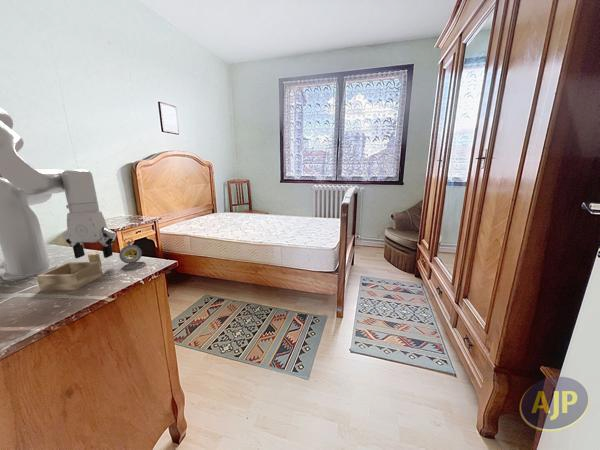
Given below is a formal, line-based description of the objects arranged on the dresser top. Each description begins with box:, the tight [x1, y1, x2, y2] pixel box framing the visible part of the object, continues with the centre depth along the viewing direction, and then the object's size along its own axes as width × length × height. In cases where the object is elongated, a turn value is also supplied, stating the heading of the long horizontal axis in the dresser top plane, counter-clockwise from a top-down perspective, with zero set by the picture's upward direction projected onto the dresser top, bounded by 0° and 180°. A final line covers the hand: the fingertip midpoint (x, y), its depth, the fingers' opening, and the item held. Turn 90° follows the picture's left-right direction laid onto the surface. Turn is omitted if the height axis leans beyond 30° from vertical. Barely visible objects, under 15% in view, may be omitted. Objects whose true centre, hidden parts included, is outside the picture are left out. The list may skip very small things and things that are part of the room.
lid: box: [87, 252, 103, 267], centre depth 86 cm, size 10×10×6 cm
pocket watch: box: [118, 237, 147, 271], centre depth 86 cm, size 8×8×10 cm
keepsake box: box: [36, 261, 104, 292], centre depth 74 cm, size 10×10×5 cm
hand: (94, 256), depth 85 cm, fingers open, 9 cm apart
